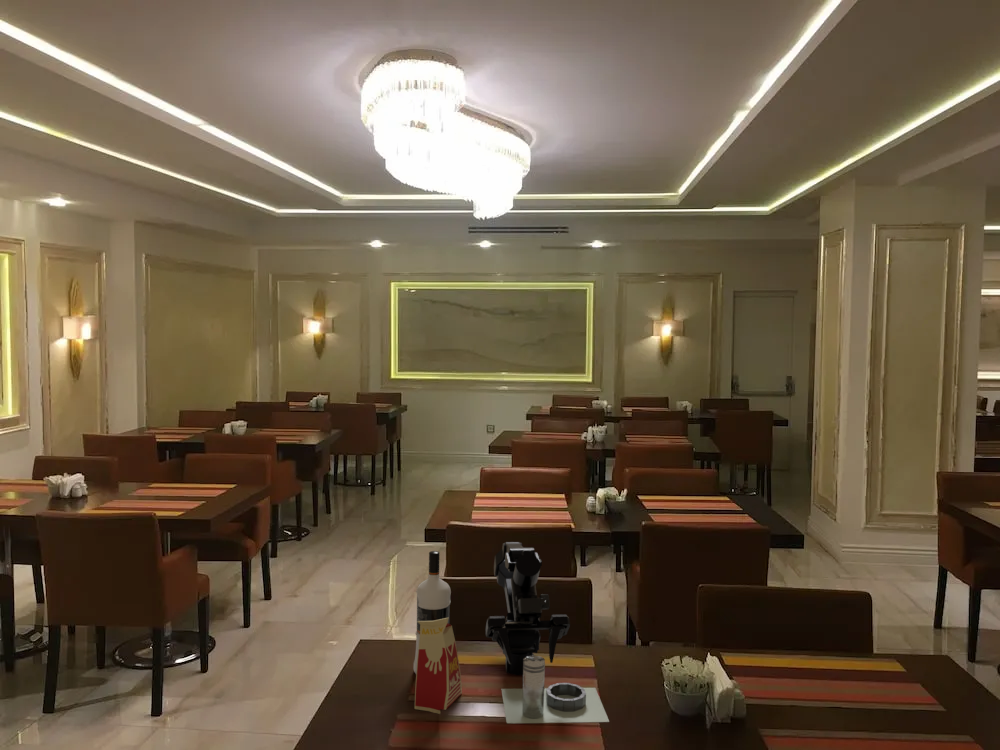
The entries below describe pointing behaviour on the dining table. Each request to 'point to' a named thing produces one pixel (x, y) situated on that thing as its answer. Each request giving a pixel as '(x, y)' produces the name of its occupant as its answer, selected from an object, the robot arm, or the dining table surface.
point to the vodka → (431, 598)
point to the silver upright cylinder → (533, 687)
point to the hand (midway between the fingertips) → (531, 662)
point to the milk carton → (437, 667)
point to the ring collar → (566, 704)
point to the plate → (588, 714)
